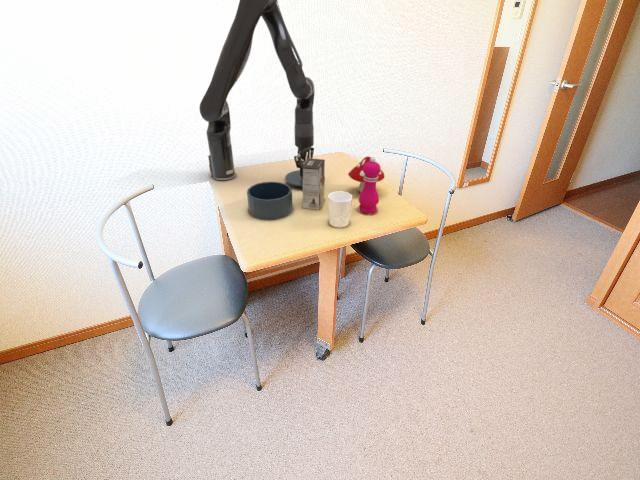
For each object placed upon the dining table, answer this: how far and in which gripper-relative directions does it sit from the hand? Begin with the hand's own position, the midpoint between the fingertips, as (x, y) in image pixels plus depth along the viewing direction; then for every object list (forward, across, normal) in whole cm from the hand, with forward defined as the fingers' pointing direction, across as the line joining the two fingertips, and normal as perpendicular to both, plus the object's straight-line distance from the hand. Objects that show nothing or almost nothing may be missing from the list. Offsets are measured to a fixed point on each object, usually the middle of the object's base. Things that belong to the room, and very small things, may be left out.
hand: (304, 174), depth 148 cm
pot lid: (+2, 0, 0) cm, 2 cm away
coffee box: (+4, +16, +12) cm, 20 cm away
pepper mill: (+4, +12, +32) cm, 34 cm away
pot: (+3, +27, 0) cm, 27 cm away
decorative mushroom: (+4, -2, +26) cm, 26 cm away
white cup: (+4, +25, +26) cm, 36 cm away
